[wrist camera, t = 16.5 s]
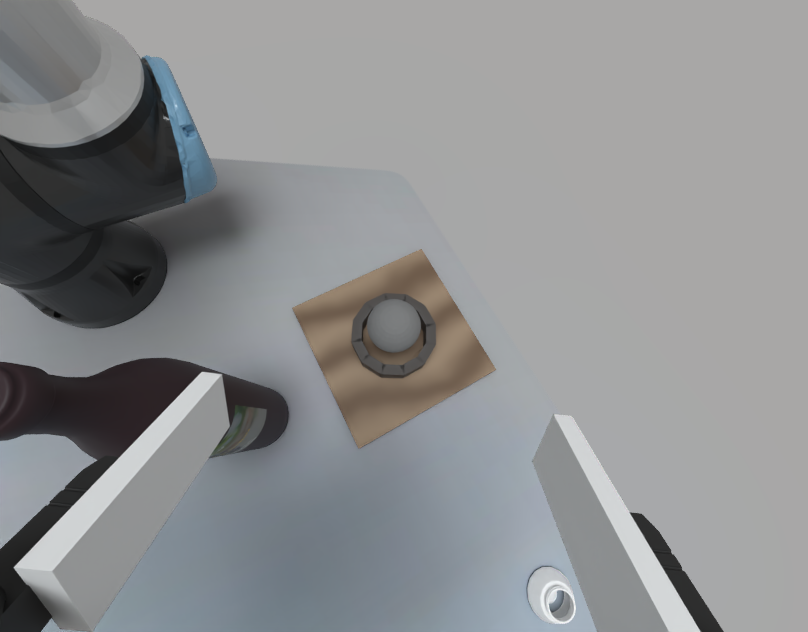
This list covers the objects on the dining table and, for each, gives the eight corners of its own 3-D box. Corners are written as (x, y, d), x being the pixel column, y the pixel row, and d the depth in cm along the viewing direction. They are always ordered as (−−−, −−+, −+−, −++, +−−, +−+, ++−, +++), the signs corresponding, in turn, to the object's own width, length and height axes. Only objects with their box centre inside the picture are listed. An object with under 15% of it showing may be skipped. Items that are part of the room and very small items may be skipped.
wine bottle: (230, 453, 39) (-185, 533, 10) (229, 393, 41) (-115, 320, 12) (291, 442, 39) (65, 487, 11) (287, 383, 42) (90, 295, 13)
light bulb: (406, 311, 44) (412, 284, 35) (421, 352, 43) (432, 336, 33) (363, 324, 44) (358, 301, 34) (377, 367, 42) (376, 355, 33)
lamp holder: (294, 310, 45) (286, 299, 41) (420, 252, 49) (424, 237, 45) (359, 448, 40) (356, 450, 36) (493, 370, 44) (504, 365, 40)
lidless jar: (523, 565, 37) (528, 620, 36) (535, 577, 34) (541, 636, 33) (565, 564, 38) (572, 618, 36) (580, 576, 35) (588, 634, 33)
